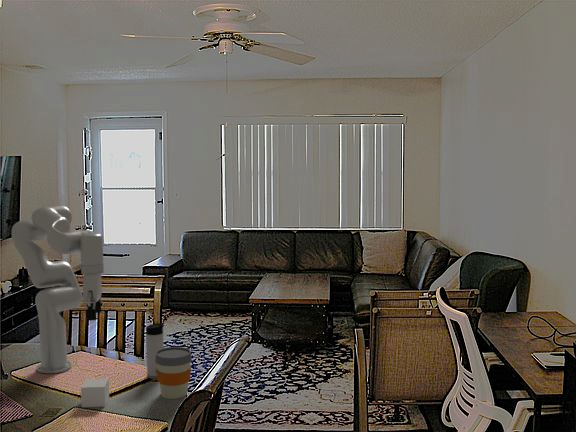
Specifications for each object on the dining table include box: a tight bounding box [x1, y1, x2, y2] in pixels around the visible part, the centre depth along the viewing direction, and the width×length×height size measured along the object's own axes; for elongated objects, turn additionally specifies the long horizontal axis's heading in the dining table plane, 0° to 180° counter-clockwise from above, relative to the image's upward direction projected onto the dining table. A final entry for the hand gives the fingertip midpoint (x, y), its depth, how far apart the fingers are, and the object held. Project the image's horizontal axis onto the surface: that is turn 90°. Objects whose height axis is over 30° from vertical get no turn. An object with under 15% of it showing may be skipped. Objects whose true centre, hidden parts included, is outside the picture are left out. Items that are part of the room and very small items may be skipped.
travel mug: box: [145, 323, 165, 380], centre depth 249 cm, size 6×7×20 cm
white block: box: [80, 378, 110, 408], centre depth 226 cm, size 8×8×7 cm
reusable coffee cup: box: [155, 346, 193, 400], centre depth 232 cm, size 13×13×15 cm
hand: (94, 316), depth 235 cm, fingers open, 9 cm apart
